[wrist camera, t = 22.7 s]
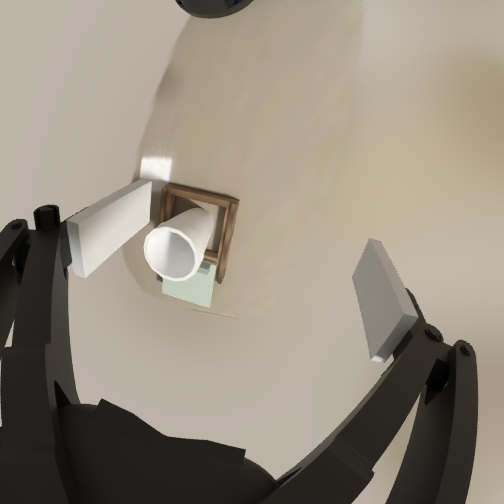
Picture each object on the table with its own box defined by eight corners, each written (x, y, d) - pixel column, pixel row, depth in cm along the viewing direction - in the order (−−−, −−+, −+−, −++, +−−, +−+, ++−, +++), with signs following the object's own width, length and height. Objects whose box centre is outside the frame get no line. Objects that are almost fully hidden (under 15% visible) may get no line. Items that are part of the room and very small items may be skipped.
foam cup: (185, 191, 49) (152, 216, 37) (229, 213, 49) (207, 245, 38) (170, 231, 53) (138, 263, 42) (210, 252, 54) (187, 290, 43)
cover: (165, 248, 53) (159, 255, 50) (217, 263, 52) (213, 271, 50) (163, 290, 58) (158, 298, 56) (210, 305, 58) (206, 313, 55)
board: (168, 183, 48) (162, 187, 46) (239, 200, 48) (236, 204, 46) (162, 259, 57) (157, 265, 55) (224, 277, 56) (220, 284, 54)
